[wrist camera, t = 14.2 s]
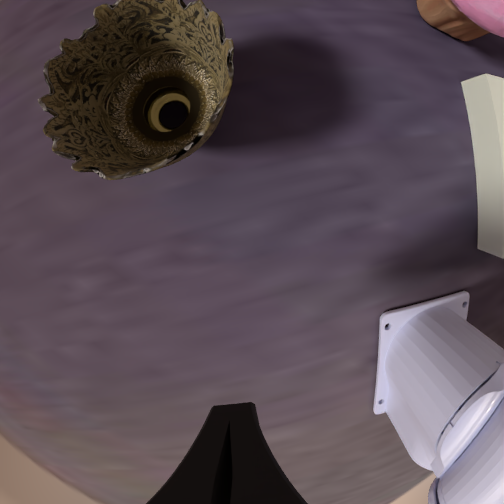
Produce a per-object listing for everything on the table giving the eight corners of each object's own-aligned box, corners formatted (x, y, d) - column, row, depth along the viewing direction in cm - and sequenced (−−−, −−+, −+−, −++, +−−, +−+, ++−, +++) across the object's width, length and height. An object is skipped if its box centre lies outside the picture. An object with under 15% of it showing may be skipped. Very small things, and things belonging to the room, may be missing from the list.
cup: (191, 37, 15) (161, -40, 7) (264, 125, 16) (281, 82, 8) (94, 112, 15) (14, 83, 8) (159, 203, 17) (97, 223, 9)
